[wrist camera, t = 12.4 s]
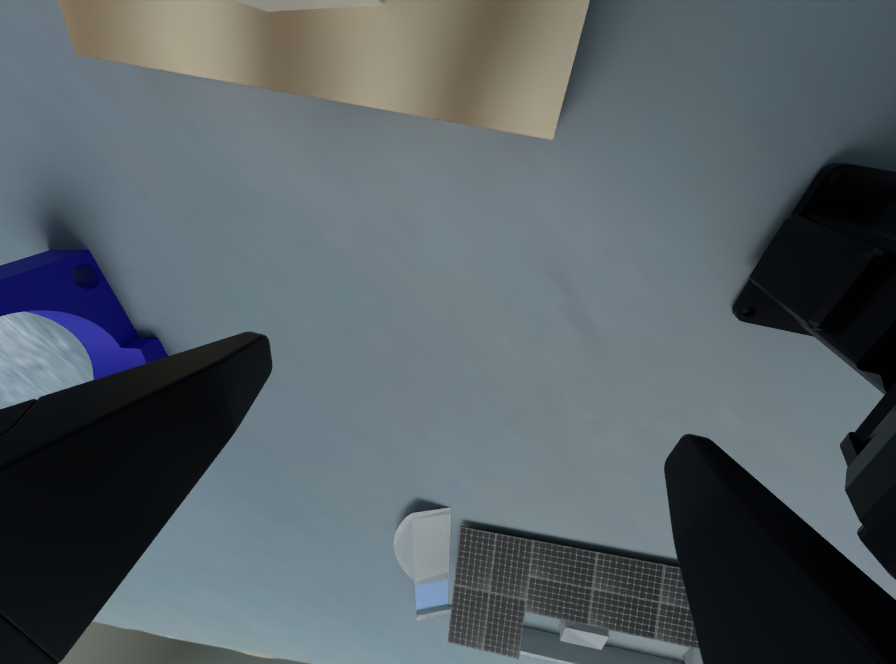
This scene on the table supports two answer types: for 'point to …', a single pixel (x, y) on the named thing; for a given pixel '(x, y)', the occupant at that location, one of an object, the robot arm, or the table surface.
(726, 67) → the table surface
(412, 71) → the wooden grooved board
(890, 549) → the robot arm
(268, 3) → the white rectangular block
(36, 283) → the cable clip
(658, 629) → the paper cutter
